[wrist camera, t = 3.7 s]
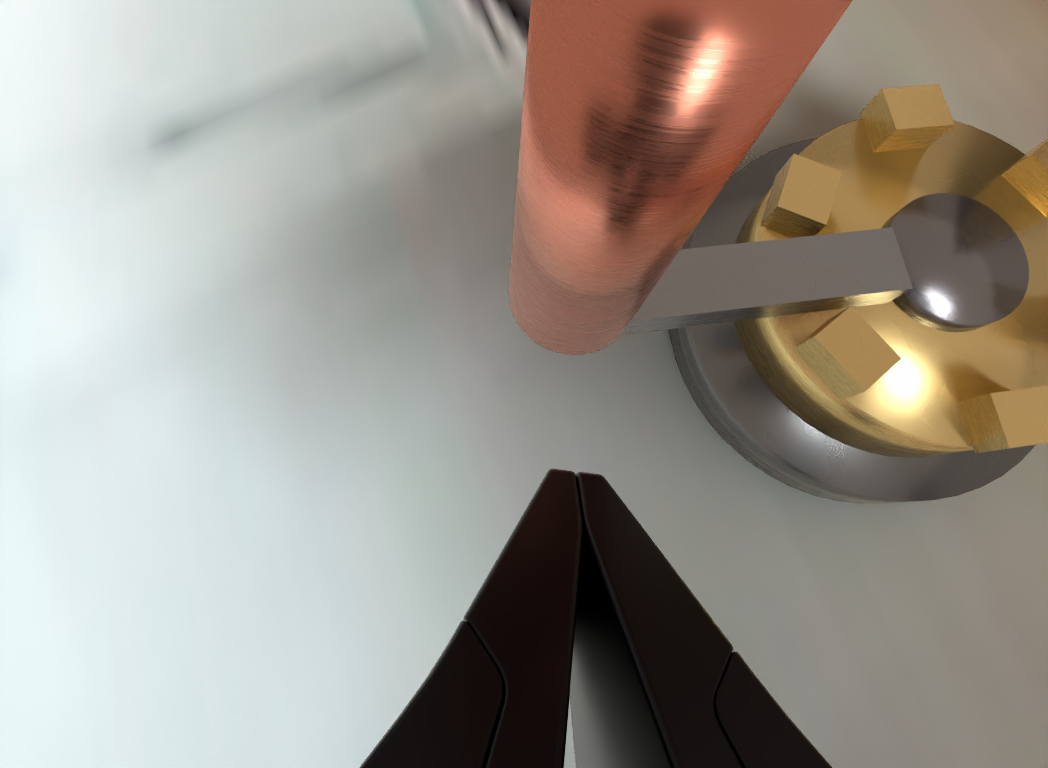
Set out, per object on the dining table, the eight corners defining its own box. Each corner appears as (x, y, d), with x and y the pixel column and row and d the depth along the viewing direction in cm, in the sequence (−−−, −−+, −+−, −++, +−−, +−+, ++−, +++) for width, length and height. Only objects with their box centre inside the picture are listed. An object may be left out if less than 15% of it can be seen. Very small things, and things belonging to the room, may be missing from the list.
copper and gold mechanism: (971, 149, 20) (1712, -426, 8) (1083, 437, 17) (2422, 241, 5) (484, 195, 18) (471, -444, 6) (530, 519, 16) (658, 503, 4)
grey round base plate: (800, 575, 18) (838, 581, 16) (603, 252, 21) (615, 224, 19) (1082, 397, 20) (1145, 383, 18) (872, 124, 23) (908, 87, 21)
